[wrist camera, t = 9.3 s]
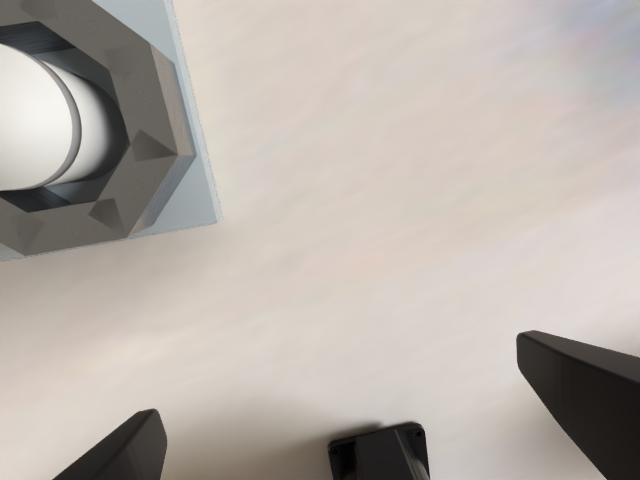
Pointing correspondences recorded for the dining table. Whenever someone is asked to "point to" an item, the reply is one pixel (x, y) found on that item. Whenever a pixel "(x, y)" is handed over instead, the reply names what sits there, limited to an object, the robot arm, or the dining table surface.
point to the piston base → (199, 174)
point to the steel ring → (140, 120)
